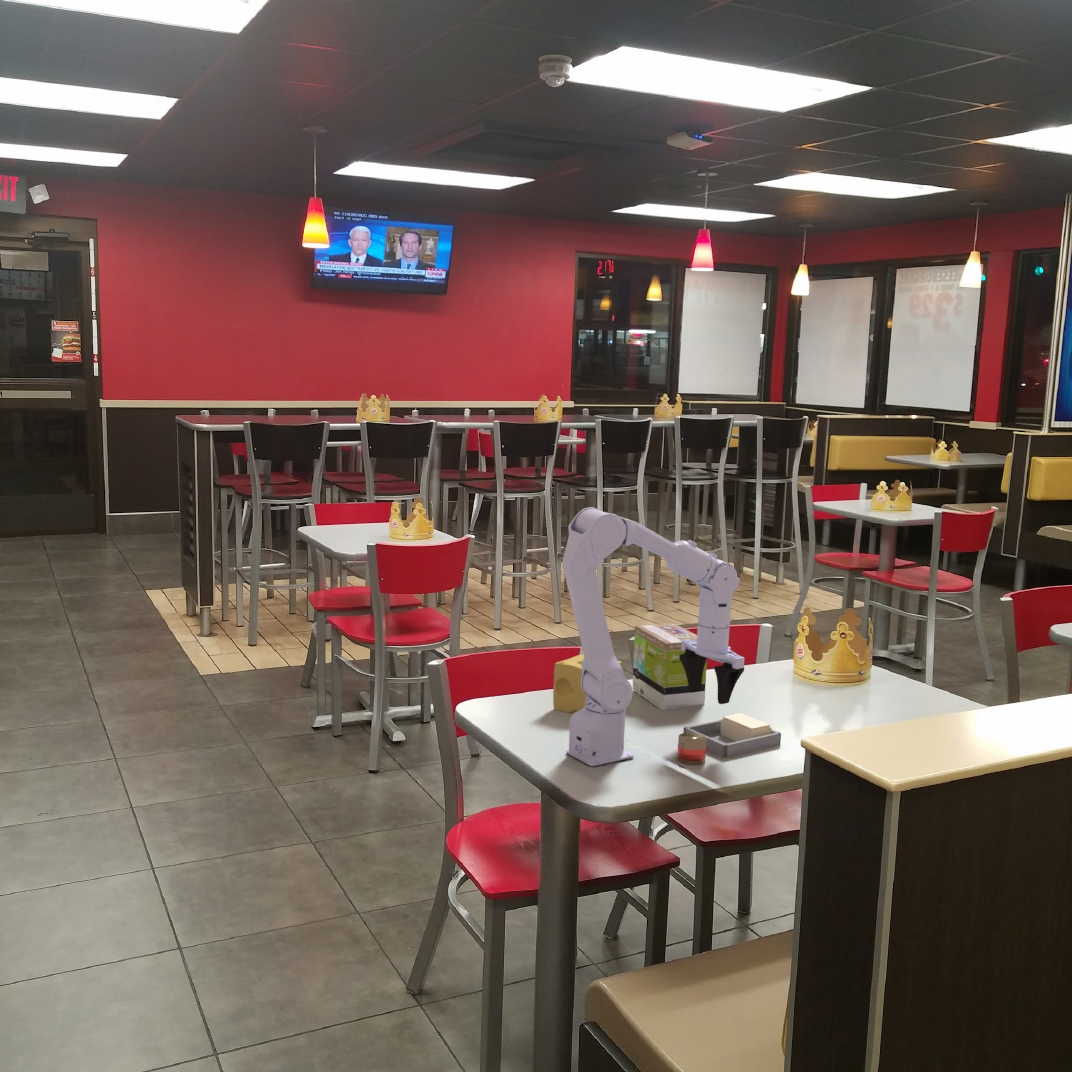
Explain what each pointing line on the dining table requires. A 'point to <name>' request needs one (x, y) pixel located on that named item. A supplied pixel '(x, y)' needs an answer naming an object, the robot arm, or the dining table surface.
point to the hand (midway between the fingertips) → (708, 697)
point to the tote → (728, 746)
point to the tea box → (663, 667)
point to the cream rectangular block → (743, 727)
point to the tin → (691, 749)
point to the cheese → (569, 685)
